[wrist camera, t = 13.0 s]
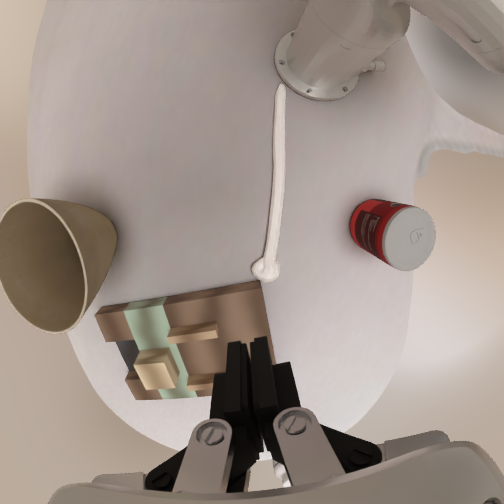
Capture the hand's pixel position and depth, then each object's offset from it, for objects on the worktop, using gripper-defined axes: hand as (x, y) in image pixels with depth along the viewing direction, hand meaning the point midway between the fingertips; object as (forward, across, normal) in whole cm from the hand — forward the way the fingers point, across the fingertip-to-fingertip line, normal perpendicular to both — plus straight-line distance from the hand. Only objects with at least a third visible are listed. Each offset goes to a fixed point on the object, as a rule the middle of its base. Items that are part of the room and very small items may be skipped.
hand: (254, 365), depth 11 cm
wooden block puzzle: (+27, +12, +16) cm, 34 cm away
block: (+24, +17, +17) cm, 34 cm away
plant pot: (+28, +22, -4) cm, 36 cm away
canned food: (+28, -19, +3) cm, 34 cm away
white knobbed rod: (+29, -5, -6) cm, 30 cm away
